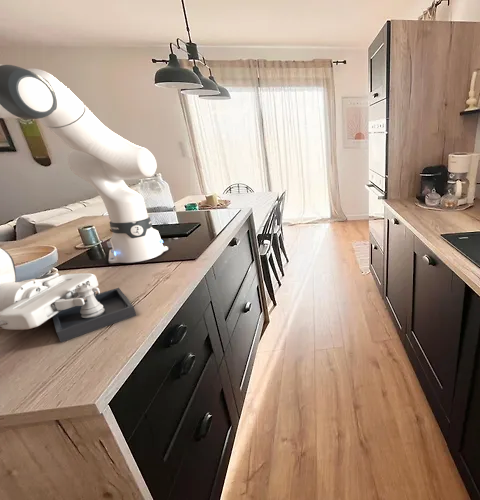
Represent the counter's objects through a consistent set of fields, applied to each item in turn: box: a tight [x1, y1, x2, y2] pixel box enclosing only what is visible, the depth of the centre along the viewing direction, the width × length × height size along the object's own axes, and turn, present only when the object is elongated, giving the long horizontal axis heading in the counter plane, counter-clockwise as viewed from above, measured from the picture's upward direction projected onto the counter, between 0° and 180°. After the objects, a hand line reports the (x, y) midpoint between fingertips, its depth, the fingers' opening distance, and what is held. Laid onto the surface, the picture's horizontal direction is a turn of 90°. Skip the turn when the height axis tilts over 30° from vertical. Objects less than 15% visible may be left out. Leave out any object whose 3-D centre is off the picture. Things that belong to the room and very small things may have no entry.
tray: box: [51, 287, 137, 343], centre depth 70 cm, size 15×14×3 cm
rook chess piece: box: [75, 283, 105, 319], centre depth 69 cm, size 4×4×8 cm
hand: (91, 296), depth 68 cm, fingers closed on rook chess piece, 3 cm apart
